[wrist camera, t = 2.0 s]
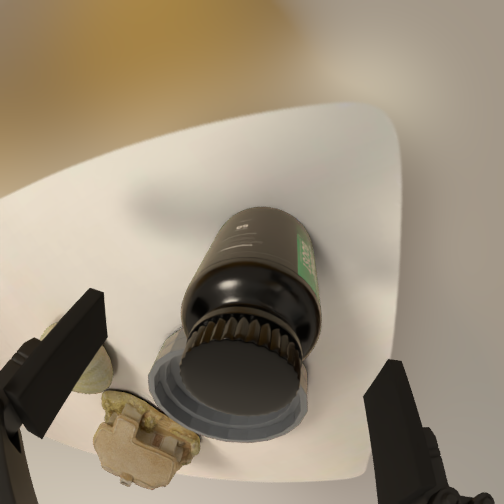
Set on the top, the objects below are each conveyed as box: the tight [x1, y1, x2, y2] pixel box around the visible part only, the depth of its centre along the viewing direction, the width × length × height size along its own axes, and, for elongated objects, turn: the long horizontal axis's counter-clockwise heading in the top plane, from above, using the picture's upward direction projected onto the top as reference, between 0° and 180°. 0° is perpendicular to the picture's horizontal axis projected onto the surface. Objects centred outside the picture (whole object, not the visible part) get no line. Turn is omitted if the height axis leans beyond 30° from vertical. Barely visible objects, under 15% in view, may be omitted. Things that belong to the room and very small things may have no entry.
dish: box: [148, 328, 307, 443], centre depth 27 cm, size 14×14×4 cm
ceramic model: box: [93, 390, 200, 490], centre depth 30 cm, size 14×11×10 cm
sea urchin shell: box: [40, 322, 113, 394], centre depth 28 cm, size 9×8×8 cm
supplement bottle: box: [179, 207, 322, 417], centre depth 17 cm, size 7×7×12 cm
